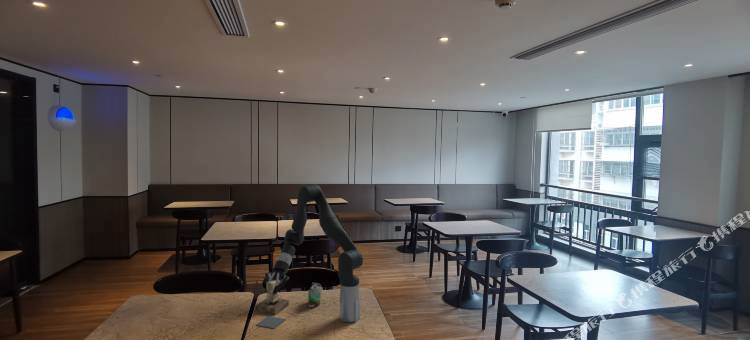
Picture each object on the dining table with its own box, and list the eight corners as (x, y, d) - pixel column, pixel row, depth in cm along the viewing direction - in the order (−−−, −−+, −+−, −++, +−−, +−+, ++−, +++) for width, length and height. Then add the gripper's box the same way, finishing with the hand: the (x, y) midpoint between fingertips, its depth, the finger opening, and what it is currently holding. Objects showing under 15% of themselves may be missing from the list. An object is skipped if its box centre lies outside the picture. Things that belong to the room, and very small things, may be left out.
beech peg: (277, 299, 197) (277, 280, 197) (273, 302, 194) (273, 283, 193) (271, 298, 199) (271, 279, 198) (266, 301, 195) (266, 282, 194)
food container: (319, 309, 195) (319, 290, 195) (308, 309, 195) (308, 290, 195) (323, 300, 208) (323, 282, 207) (312, 300, 208) (312, 282, 207)
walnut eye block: (288, 305, 200) (288, 299, 200) (275, 314, 189) (275, 308, 189) (269, 302, 204) (269, 296, 204) (255, 311, 193) (255, 305, 193)
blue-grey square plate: (286, 319, 183) (286, 319, 183) (274, 329, 174) (274, 328, 174) (268, 316, 187) (268, 315, 187) (255, 325, 177) (255, 324, 177)
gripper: (268, 258, 205) (254, 288, 194) (291, 261, 200) (278, 291, 189) (274, 265, 210) (261, 294, 199) (297, 268, 205) (284, 298, 194)
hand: (270, 293), depth 194 cm, fingers closed on beech peg, 4 cm apart
